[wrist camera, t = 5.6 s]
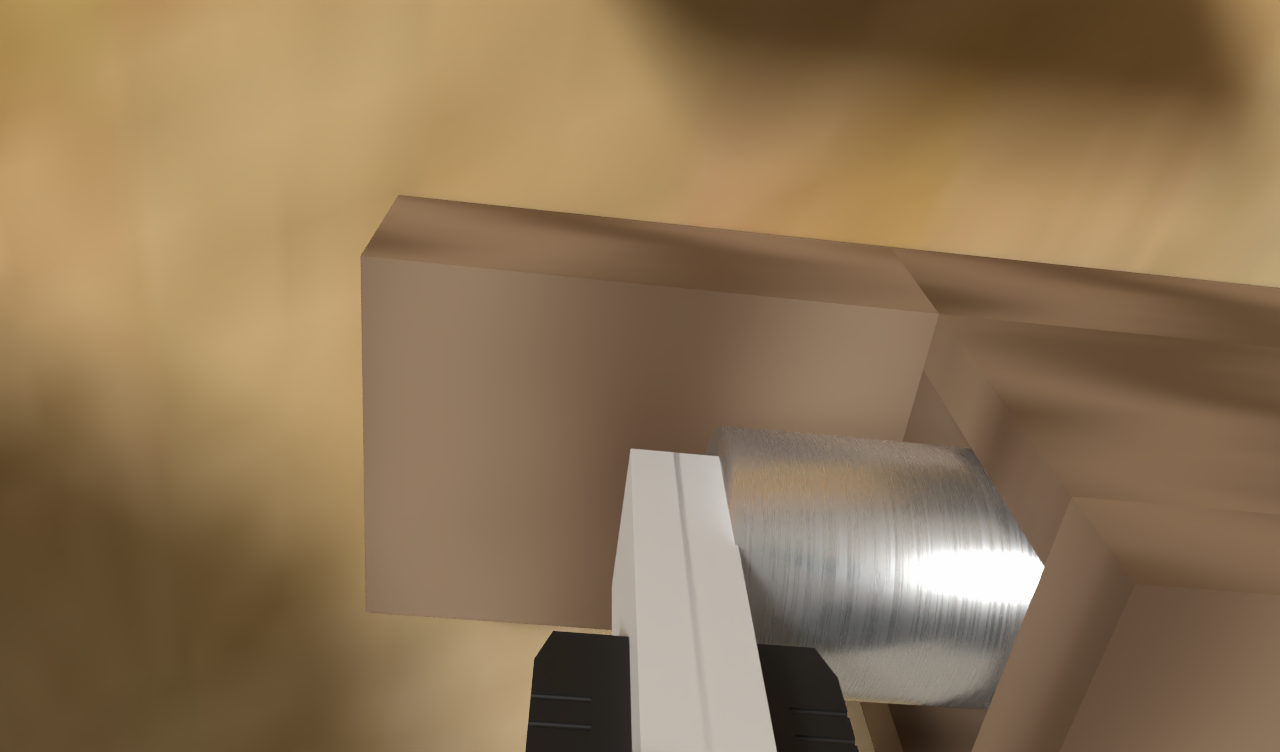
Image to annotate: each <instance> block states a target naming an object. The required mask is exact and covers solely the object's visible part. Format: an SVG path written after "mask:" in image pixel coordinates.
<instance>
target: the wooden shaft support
mask: <svg viewBox="0 0 1280 752" xmlns="http://www.w3.org/2000/svg"><path fill="white" fill-rule="evenodd" d="M361 309H362V377H363V445H364V513H365V581H366V612H369V613H383V614H397V615H411V616H425V617H439V618H453V619H467V620H481V621H495V622H510V623H524V624H538V625H552V626H566V627H580V628H594V629H608V630H612V581H613V574H614V566H615V559H616V552H617V544H618V537H619V530H620V522H621V515H622V508H623V500H624V493H625V486H626V478H627V471H628V464H629V456H630V449H642V450H654V451H665V452H676V453H686V454H698V455H705V453H706V449H707V446H708V443H709V440H710V438H711V436H712V434H713V432H714V430H715V429H716V428H717V427H718V426H731V427H742V428H754V429H765V430H776V431H787V432H798V433H809V434H820V435H831V436H843V437H854V438H865V439H876V440H887V441H898V442H909V443H920V444H932V445H943V446H954V447H965V448H972V450H973V452H974V453H975V455H976V456H977V458H978V460H979V461H980V463H981V465H982V466H983V468H984V469H985V471H986V473H987V474H988V476H989V478H990V479H991V481H992V482H993V484H994V486H995V487H996V489H997V491H998V492H999V494H1000V495H1001V497H1002V499H1003V500H1004V502H1005V504H1006V505H1007V507H1008V508H1009V510H1010V512H1011V513H1012V515H1013V517H1014V518H1015V520H1016V521H1017V523H1018V525H1019V526H1020V528H1021V529H1022V531H1023V533H1024V534H1025V536H1026V538H1027V539H1028V541H1029V542H1030V544H1031V546H1032V547H1033V549H1034V551H1035V552H1036V554H1037V555H1038V557H1039V559H1040V560H1041V562H1042V564H1043V565H1044V569H1043V571H1042V574H1041V576H1040V579H1039V581H1038V584H1037V586H1036V589H1035V592H1034V594H1033V597H1032V599H1031V602H1030V604H1029V607H1028V609H1027V612H1026V614H1025V617H1024V619H1023V622H1022V625H1021V627H1020V630H1019V632H1018V635H1017V637H1016V640H1015V642H1014V645H1013V647H1012V650H1011V652H1010V655H1009V658H1008V660H1007V663H1006V665H1005V668H1004V670H1003V673H1002V675H1001V678H1000V680H999V683H998V685H997V688H996V690H995V693H994V696H993V698H992V701H991V703H990V706H989V708H988V710H979V709H965V708H950V707H935V706H920V705H905V704H890V703H876V702H861V701H860V703H861V706H862V709H863V713H864V716H865V719H866V723H867V726H868V729H869V733H870V736H871V740H872V743H873V746H874V750H875V752H1280V288H1274V287H1264V286H1255V285H1245V284H1236V283H1226V282H1217V281H1207V280H1198V279H1188V278H1179V277H1169V276H1160V275H1150V274H1141V273H1131V272H1122V271H1112V270H1103V269H1093V268H1084V267H1074V266H1065V265H1055V264H1046V263H1036V262H1027V261H1017V260H1008V259H999V258H989V257H980V256H970V255H961V254H951V253H942V252H932V251H923V250H913V249H904V248H894V247H885V246H875V245H866V244H856V243H847V242H837V241H828V240H818V239H809V238H799V237H790V236H780V235H771V234H761V233H752V232H742V231H733V230H723V229H714V228H704V227H695V226H685V225H676V224H666V223H657V222H647V221H638V220H628V219H619V218H609V217H600V216H590V215H581V214H571V213H562V212H552V211H543V210H534V209H524V208H515V207H505V206H496V205H486V204H477V203H467V202H458V201H448V200H439V199H429V198H420V197H410V196H401V195H399V196H398V197H397V199H396V200H395V202H394V204H393V205H392V207H391V208H390V210H389V212H388V213H387V215H386V216H385V218H384V220H383V221H382V223H381V224H380V226H379V228H378V229H377V231H376V232H375V234H374V236H373V237H372V239H371V240H370V242H369V244H368V245H367V247H366V248H365V250H364V252H363V253H362V255H361Z"/></svg>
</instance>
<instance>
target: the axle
mask: <svg viewBox="0 0 1280 752" xmlns="http://www.w3.org/2000/svg"><path fill="white" fill-rule="evenodd" d="M705 455H709V456H719V461H720V466H721V471H722V477H723V482H724V488H725V493H726V498H727V504H728V509H729V515H730V520H731V526H732V531H733V536H734V542H735V545H738V548H739V553H740V558H741V564H742V569H743V574H744V580H745V585H746V590H747V595H748V601H749V606H750V611H751V617H752V622H753V627H754V633H755V638H756V643H757V644H769V645H782V646H796V647H810V648H815V649H816V650H817V652H818V653H819V654H820V655H821V657H822V658H823V659H824V661H825V662H826V663H827V664H828V666H829V667H830V668H831V670H832V671H833V672H834V673H835V675H836V676H837V677H838V680H839V683H840V687H841V690H842V694H843V698H844V700H846V701H861V702H876V703H890V704H905V705H920V706H935V707H950V708H965V709H979V710H988V708H989V706H990V703H991V701H992V698H993V696H994V693H995V690H996V688H997V685H998V683H999V680H1000V678H1001V675H1002V673H1003V670H1004V668H1005V665H1006V663H1007V660H1008V658H1009V655H1010V652H1011V650H1012V647H1013V645H1014V642H1015V640H1016V637H1017V635H1018V632H1019V630H1020V627H1021V625H1022V622H1023V619H1024V617H1025V614H1026V612H1027V609H1028V607H1029V604H1030V602H1031V599H1032V597H1033V594H1034V592H1035V589H1036V586H1037V584H1038V581H1039V579H1040V576H1041V574H1042V571H1043V569H1044V565H1043V564H1042V562H1041V560H1040V559H1039V557H1038V555H1037V554H1036V552H1035V551H1034V549H1033V547H1032V546H1031V544H1030V542H1029V541H1028V539H1027V538H1026V536H1025V534H1024V533H1023V531H1022V529H1021V528H1020V526H1019V525H1018V523H1017V521H1016V520H1015V518H1014V517H1013V515H1012V513H1011V512H1010V510H1009V508H1008V507H1007V505H1006V504H1005V502H1004V500H1003V499H1002V497H1001V495H1000V494H999V492H998V491H997V489H996V487H995V486H994V484H993V482H992V481H991V479H990V478H989V476H988V474H987V473H986V471H985V469H984V468H983V466H982V465H981V463H980V461H979V460H978V458H977V456H976V455H975V453H974V452H973V450H972V448H965V447H954V446H943V445H932V444H920V443H909V442H898V441H887V440H876V439H865V438H854V437H843V436H831V435H820V434H809V433H798V432H787V431H776V430H765V429H754V428H742V427H731V426H718V427H717V428H716V429H715V430H714V432H713V434H712V436H711V438H710V440H709V443H708V446H707V449H706V453H705Z"/></svg>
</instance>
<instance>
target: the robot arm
mask: <svg viewBox="0 0 1280 752" xmlns="http://www.w3.org/2000/svg"><path fill="white" fill-rule="evenodd" d="M526 752H859V751H858V748H857V746H855V737H854V733H853V730H852V726H851V723H850V719H849V718H847V708H846V705H845V701H844V698H843V694H842V690H841V687H840V683H839V680H838V677H837V676H836V675H835V673H834V672H833V671H832V670H831V668H830V667H829V666H828V664H827V663H826V662H825V661H824V659H823V658H822V657H821V655H820V654H819V653H818V652H817V650H816V649H815V648H810V647H796V646H782V645H769V644H757V643H756V638H755V633H754V627H753V622H752V617H751V611H750V606H749V601H748V595H747V590H746V585H745V580H744V574H743V569H742V564H741V558H740V553H739V548H738V545H735V542H734V536H733V531H732V526H731V520H730V515H729V509H728V504H727V498H726V493H725V488H724V482H723V477H722V471H721V466H720V461H719V456H709V455H698V454H686V453H676V452H665V451H654V450H642V449H630V456H629V464H628V471H627V478H626V486H625V493H624V500H623V508H622V515H621V522H620V530H619V537H618V544H617V552H616V559H615V566H614V574H613V581H612V635H600V634H586V633H572V632H559V631H553V632H552V634H551V635H550V637H549V638H548V640H547V641H546V643H545V644H544V645H543V647H542V648H541V650H540V651H539V653H538V654H537V656H536V657H535V659H534V668H533V679H532V689H531V700H530V710H529V721H528V731H527V742H526Z"/></svg>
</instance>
